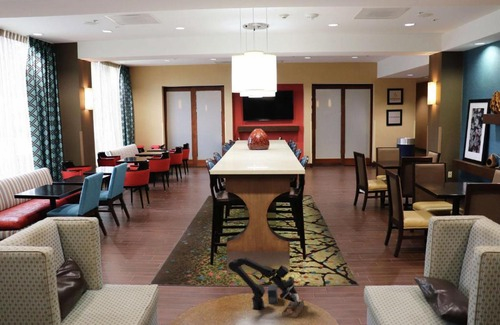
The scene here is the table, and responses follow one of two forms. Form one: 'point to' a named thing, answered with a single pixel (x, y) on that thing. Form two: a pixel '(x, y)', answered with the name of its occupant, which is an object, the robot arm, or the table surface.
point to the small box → (272, 294)
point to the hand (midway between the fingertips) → (296, 299)
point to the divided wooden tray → (292, 310)
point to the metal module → (296, 298)
